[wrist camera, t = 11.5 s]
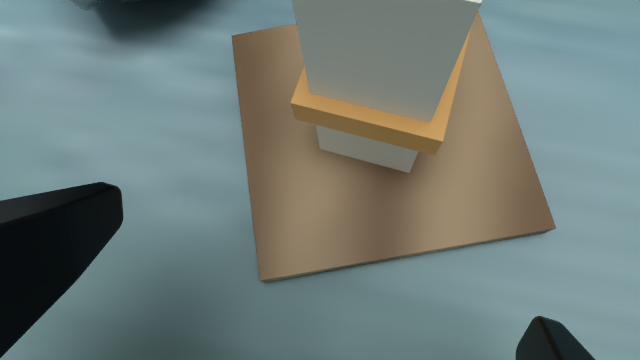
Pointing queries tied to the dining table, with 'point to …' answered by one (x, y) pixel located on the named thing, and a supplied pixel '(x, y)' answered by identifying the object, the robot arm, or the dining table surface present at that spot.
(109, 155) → the dining table surface
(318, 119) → the plug
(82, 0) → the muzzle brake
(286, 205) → the pad
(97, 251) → the robot arm
